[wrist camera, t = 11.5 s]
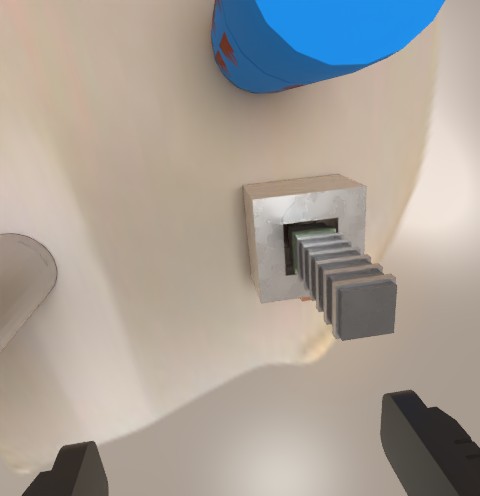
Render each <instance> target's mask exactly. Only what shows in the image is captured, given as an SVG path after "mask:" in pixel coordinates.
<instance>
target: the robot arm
mask: <svg viewBox="0 0 480 496" xmlns="http://www.w3.org/2000/svg"><path fill="white" fill-rule="evenodd" d="M56 277H57V270H56V265H55V262H54V260H53V258H52V256H51V255H50V253H49V252H48V251H47V250H46V249H45V248H44V247H43V246H42V245H41V244H40V243H38V242H37V241H35V240H33V239H31V238H29V237H26V236H22V235H19V234H3V235H0V352H1V350H2V349H3V348H4V347H5V346H6V344H7V343H8V342H9V341H10V340H11V338H12V337H13V336H14V335H15V333H16V332H17V331H18V330H19V329H20V327H21V326H22V325H23V324H24V322H25V321H26V320H27V319H28V318H29V316H30V315H31V314H32V313H33V312H34V310H35V309H36V308H37V307H38V306H39V304H40V303H41V302H42V301H43V299H44V298H45V297H46V296H47V295H48V293H49V292H50V291H51V289H52V288H53V286H54V284H55V281H56ZM380 435H381V442H382V446H383V449H384V452H385V454H386V457H387V458H388V460H389V462H390V464H391V466H392V468H393V469H394V471H395V473H396V474H397V477H398V478H399V480H400V482H401V483H402V486H403V487H404V489H405V491H406V492H407V495H408V496H480V448H479V447H478V446H477V444H476V443H475V442H472V440H471V437H470V436H469V435H468V434H467V433H466V431H465V430H464V429H463V428H462V427H461V426H460V425H459V423H458V422H457V421H456V420H455V419H453V418H452V417H451V416H449V415H448V414H446V413H445V412H443V411H442V410H440V409H439V408H438V407H431V408H427V407H426V405H425V404H424V403H423V402H422V400H421V399H420V398H419V397H418V395H417V394H416V393H415V392H414V391H412V390H406V391H400V392H394V393H387V394H384V396H383V400H382V415H381V431H380ZM22 496H108V481H107V477H106V474H105V471H104V468H103V465H102V462H101V459H100V456H99V452H98V449H97V446H96V444H95V442H94V441H89V442H83V443H77V444H71V445H65V446H63V447H62V448H61V449H60V451H59V453H58V455H57V458H56V460H55V463H54V465H53V468H52V470H51V471H45V472H40V474H39V475H38V476H37V477H36V478H35V479H34V481H33V482H32V483H31V484H30V486H29V487H28V488H27V489H26V491H25V492H24V493H23V494H22Z"/></svg>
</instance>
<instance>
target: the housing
mask: <svg viewBox="0 0 480 496" xmlns="http://www.w3.org/2000/svg"><path fill="white" fill-rule="evenodd" d="M243 193H244V204H245V215H246V226H247V237H248V248H249V259H250V270H251V276H252V279H253V282H254V285H255V287H256V290H257V293H258V296H259V299H260V302H261V303H267V302H274V301H281V300H288V299H295V298H300V299H301V300H302V301H307V300H311V299H310V292H309V290H308V291H305V289H304V283H303V281H302V282H300V281H299V279H298V274H295V273H294V271H293V264H292V262H291V261H290V257H289V248H286V249H284V235H283V224H290V223H298V222H306V221H314V220H315V223H320V222H323V223H325V224H326V225H327V226H328V227H335V228H336V233H340V232H341V233H342V234H343V240H344V239H349V240H350V241H351V246H352V247H355V246H358V247H359V248H360V249H361V255H364V247H365V216H366V186H365V185H363V184H360V183H358V182H356V181H353V180H351V179H348V178H346V177H344V176H341V175H339V174H335V175H326V176H317V177H309V178H300V179H292V180H283V181H274V182H266V183H257V184H248V185H243Z"/></svg>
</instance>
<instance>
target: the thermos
mask: <svg viewBox="0 0 480 496" xmlns="http://www.w3.org/2000/svg"><path fill="white" fill-rule="evenodd" d="M444 1H445V0H215V5H214V10H213V20H212V30H211V40H212V45H213V50H214V55H215V60H216V62H217V63H218V65H219V67H220V69H221V70H222V72H223V74H224V76H225V77H226V78H228V79H229V80H230V81H231V82H232V83H233V84H235V85H236V86H237V87H238V88H241V89H244V90H247V91H250V92H252V93H274V92H280V91H284V90H288V89H292V88H296V87H299V86H303V85H307V84H311V83H315V82H319V81H323V80H327V79H330V78H334V77H338V76H342V75H346V74H350V73H353V72H356V71H358V70H360V69H363V68H365V67H367V66H369V65H372V64H374V63H376V62H379V61H381V60H383V59H386V58H387V57H389V56H391V55H393V54H394V53H396V52H398V51H399V50H401V49H403V48H404V47H405V46H406V45H407V44H408V43H409V42H410V41H411V40H412V39H414V38H415V37H416V36H417V35H418V34H419V33H420V32H421V31H422V30H423V29H424V28H425V27H427V26H428V25H429V24H430V23H431V22H432V21H433V20H434V18H435V17H436V15H437V13H438V12H439V10H440V8H441V7H442V5H443V3H444Z"/></svg>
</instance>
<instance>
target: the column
mask: <svg viewBox="0 0 480 496" xmlns="http://www.w3.org/2000/svg"><path fill="white" fill-rule="evenodd" d="M288 236H289V257H290V261H291V262H292V264H293V271H294V273H295V274H298V279H299V281H300V282H302V281H303V283H304V289H305V291H308V290H309V292H310V299H311V300H312V301H314V300H316V308H317V310H318V311H319V312H324V321H325V323H326V324H327V325H328V324H332V334H333V336H334V337H335V339H339V338H341V340H342V341H344V340H351V339H357V338H364V337H370V336H377V335H383V334H390V333H394V322H395V308H396V294H397V285H396V277H394V276H393V275H392V274H386V275H384V274H383V273H382V269H383V267H382V266H381V265H380V264H379V263H378V264H371V257H370V256H369V255H368V254H365V255H361V249H360V248H359V247H358V246H355V247H352V246H351V241H350V240H349V239H344V240H343V234H342V233H341V232H340V233H336V228H335V227H328V226H327V225H326V224H325V223H323V222H320V223H312V224H304V225H296V226H288Z"/></svg>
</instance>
